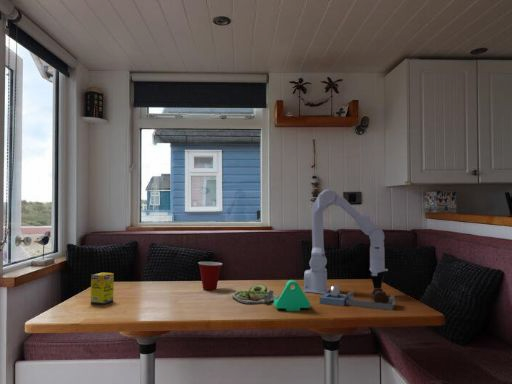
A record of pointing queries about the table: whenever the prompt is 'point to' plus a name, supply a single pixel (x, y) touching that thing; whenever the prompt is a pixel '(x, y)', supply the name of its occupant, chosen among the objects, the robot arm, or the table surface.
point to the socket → (333, 299)
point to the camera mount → (292, 298)
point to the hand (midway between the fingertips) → (377, 291)
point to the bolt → (380, 295)
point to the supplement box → (102, 288)
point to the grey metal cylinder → (335, 291)
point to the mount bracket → (370, 304)
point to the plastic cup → (209, 274)
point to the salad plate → (255, 295)
